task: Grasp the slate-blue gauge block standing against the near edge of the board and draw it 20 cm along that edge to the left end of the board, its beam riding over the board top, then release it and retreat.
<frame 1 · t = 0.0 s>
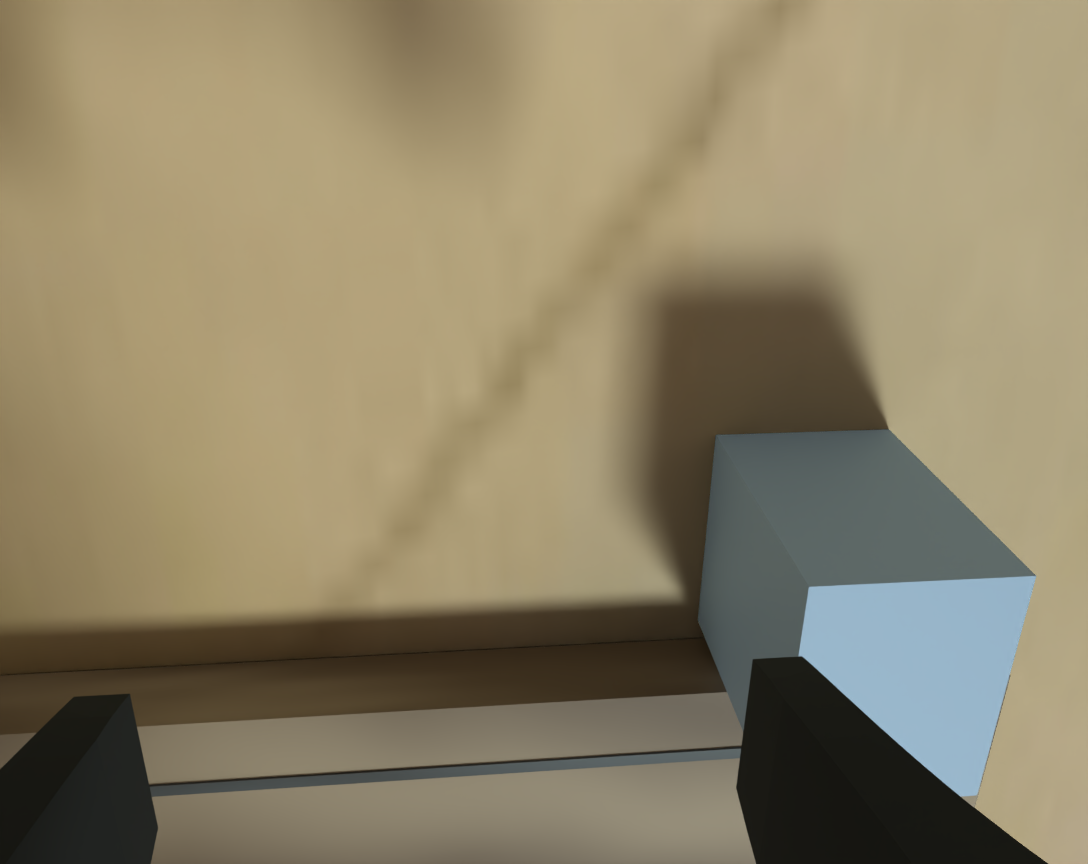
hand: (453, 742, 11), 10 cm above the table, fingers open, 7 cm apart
board: (381, 840, 26), on the table
gauge: (789, 527, 23), on the table
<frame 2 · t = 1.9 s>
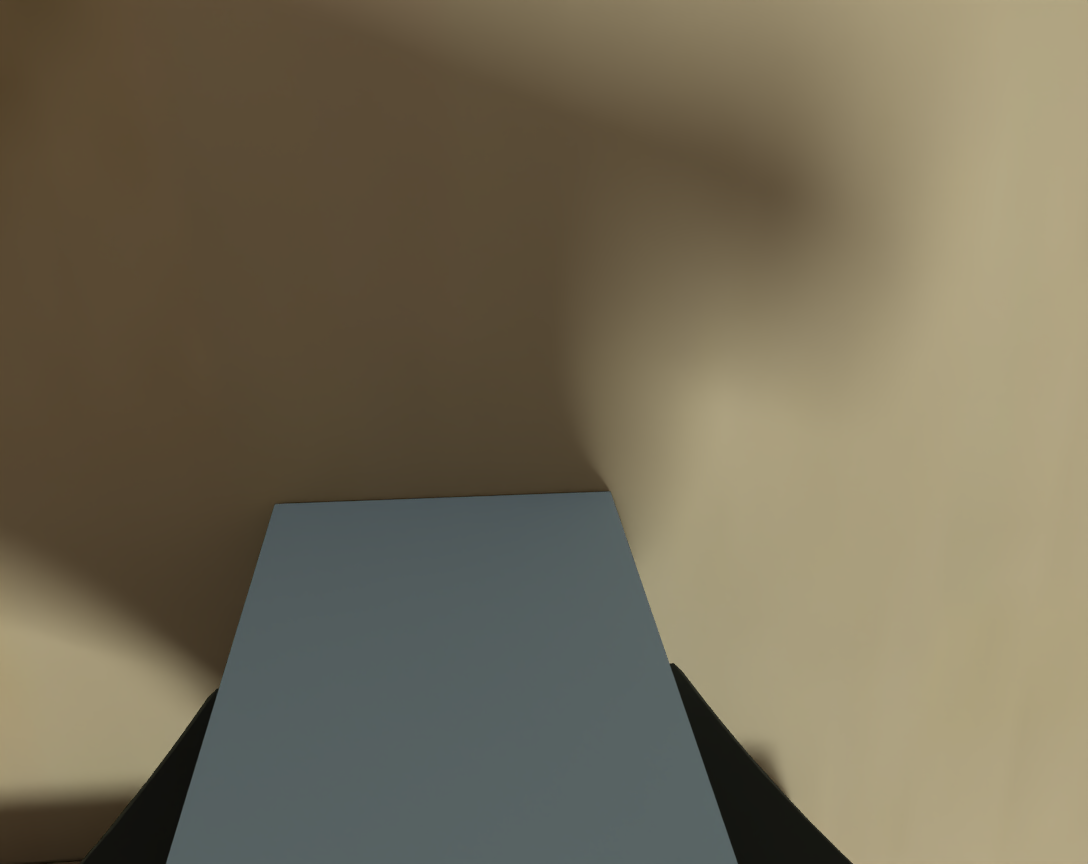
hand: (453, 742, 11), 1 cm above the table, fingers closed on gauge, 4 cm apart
gauge: (451, 665, 13), on the table, touching gripper
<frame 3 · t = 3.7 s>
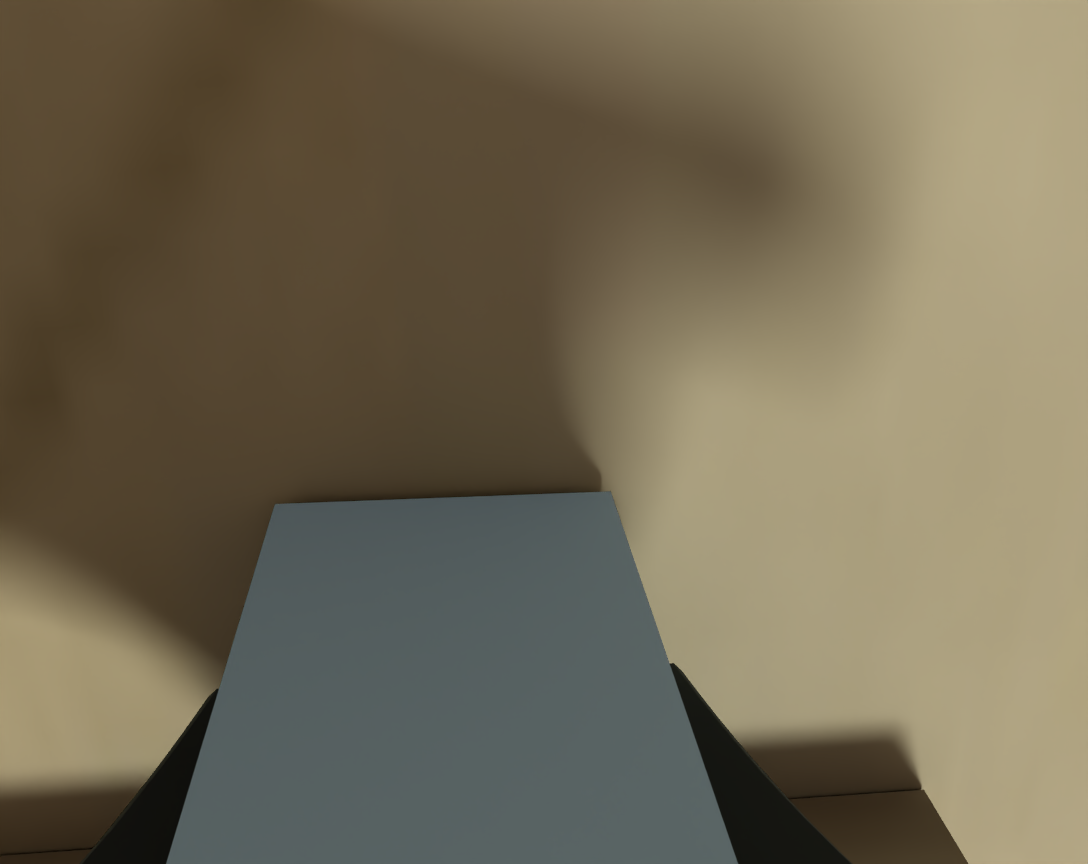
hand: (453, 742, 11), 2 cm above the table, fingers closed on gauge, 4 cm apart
gauge: (451, 665, 13), on the table, touching gripper
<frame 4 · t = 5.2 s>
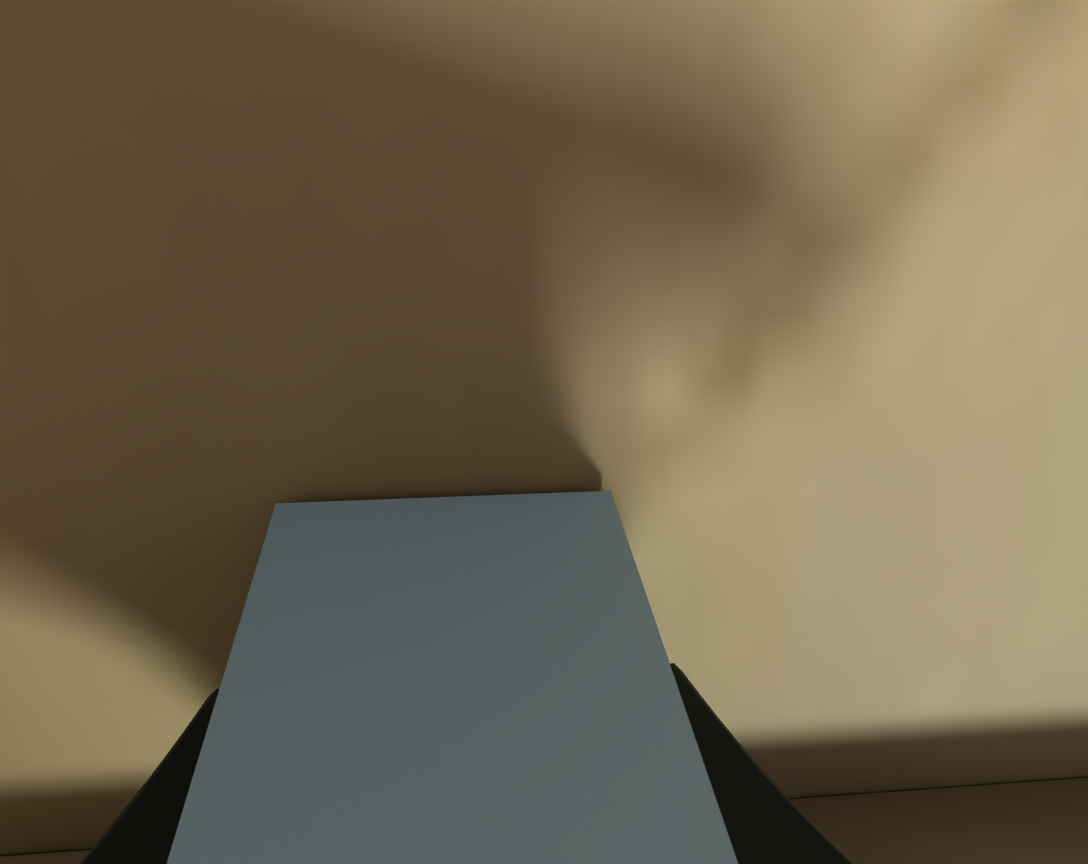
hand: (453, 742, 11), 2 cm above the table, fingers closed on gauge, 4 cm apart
gauge: (451, 664, 13), on the table, touching gripper
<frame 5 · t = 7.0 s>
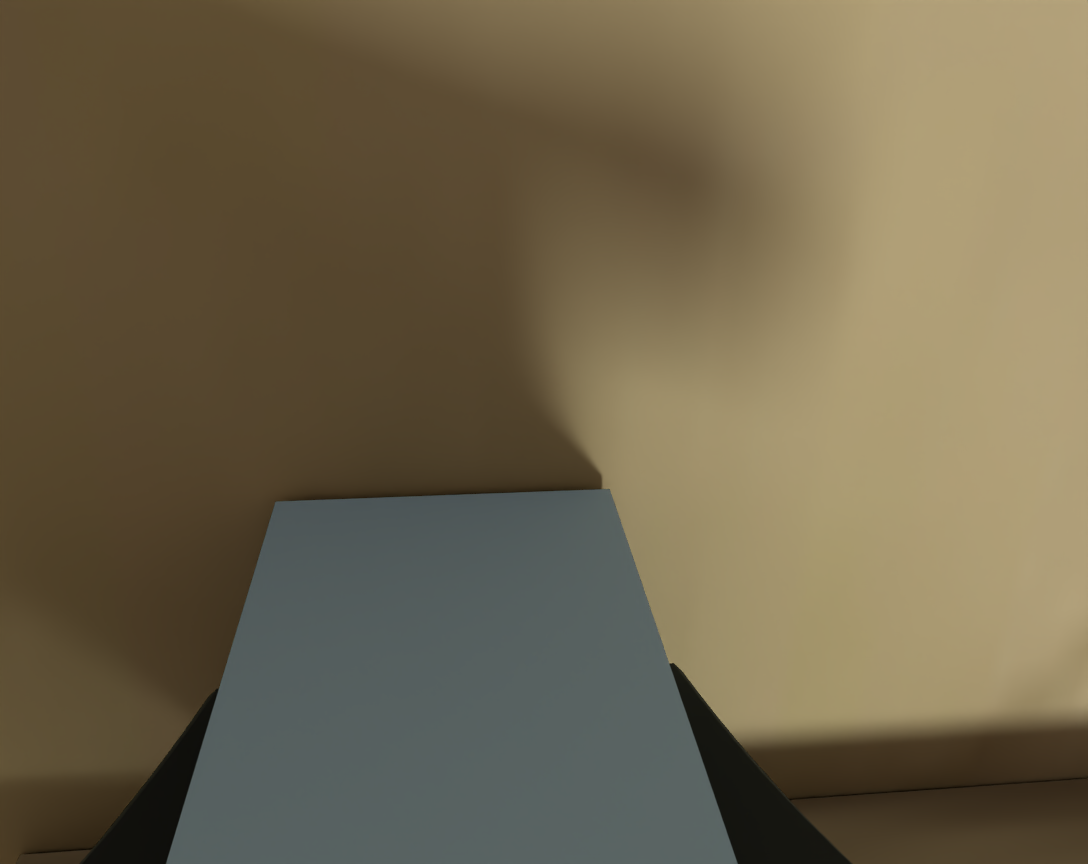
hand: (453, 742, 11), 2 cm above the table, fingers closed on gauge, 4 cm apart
gauge: (451, 662, 13), on the table, touching gripper
when the fingers open (2 cm above the table, at t = 8.7 s): gauge stays where it is, on the table.
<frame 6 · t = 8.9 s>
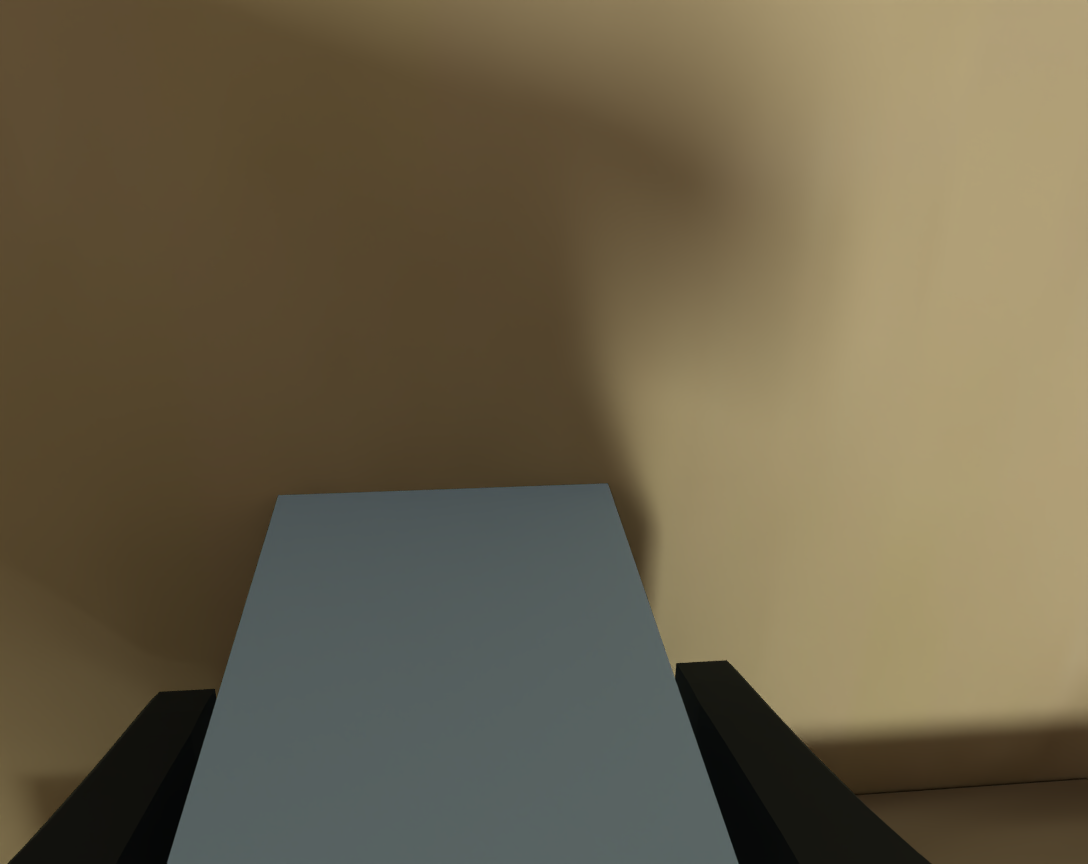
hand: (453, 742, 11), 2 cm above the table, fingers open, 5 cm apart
gauge: (451, 653, 13), on the table
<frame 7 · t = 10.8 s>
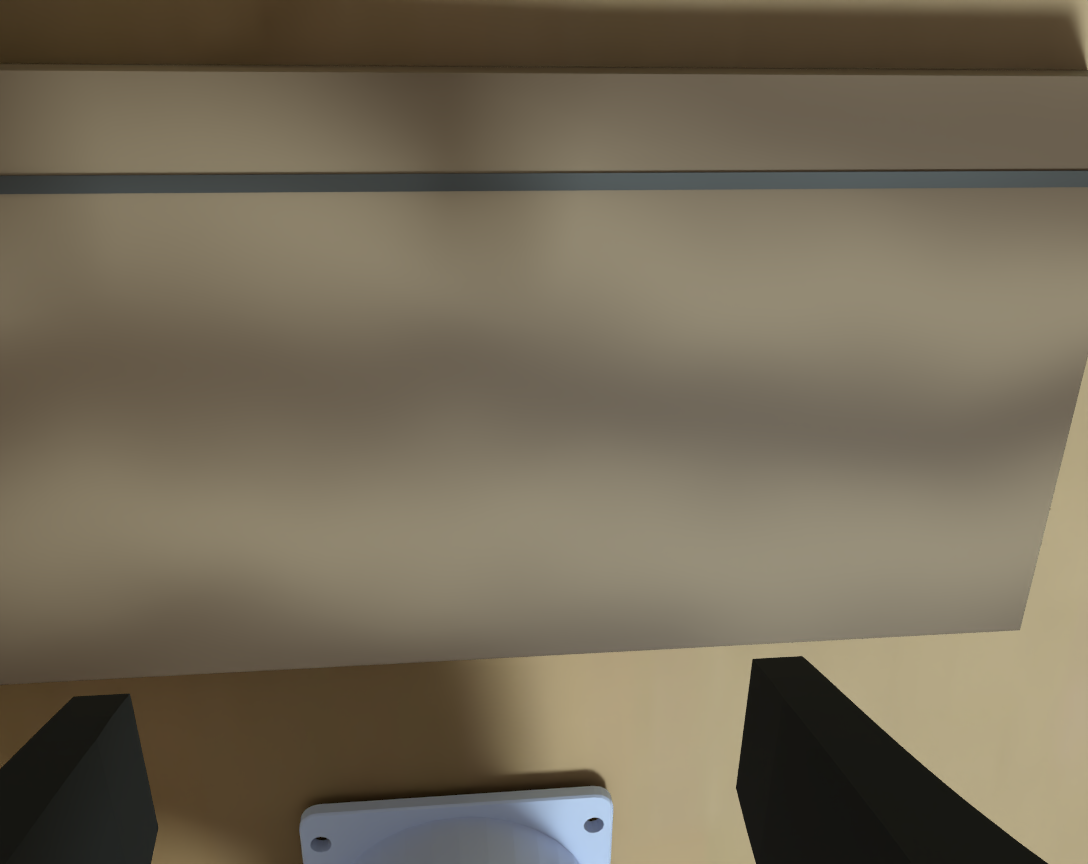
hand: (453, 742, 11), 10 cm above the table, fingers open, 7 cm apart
board: (348, 371, 20), on the table
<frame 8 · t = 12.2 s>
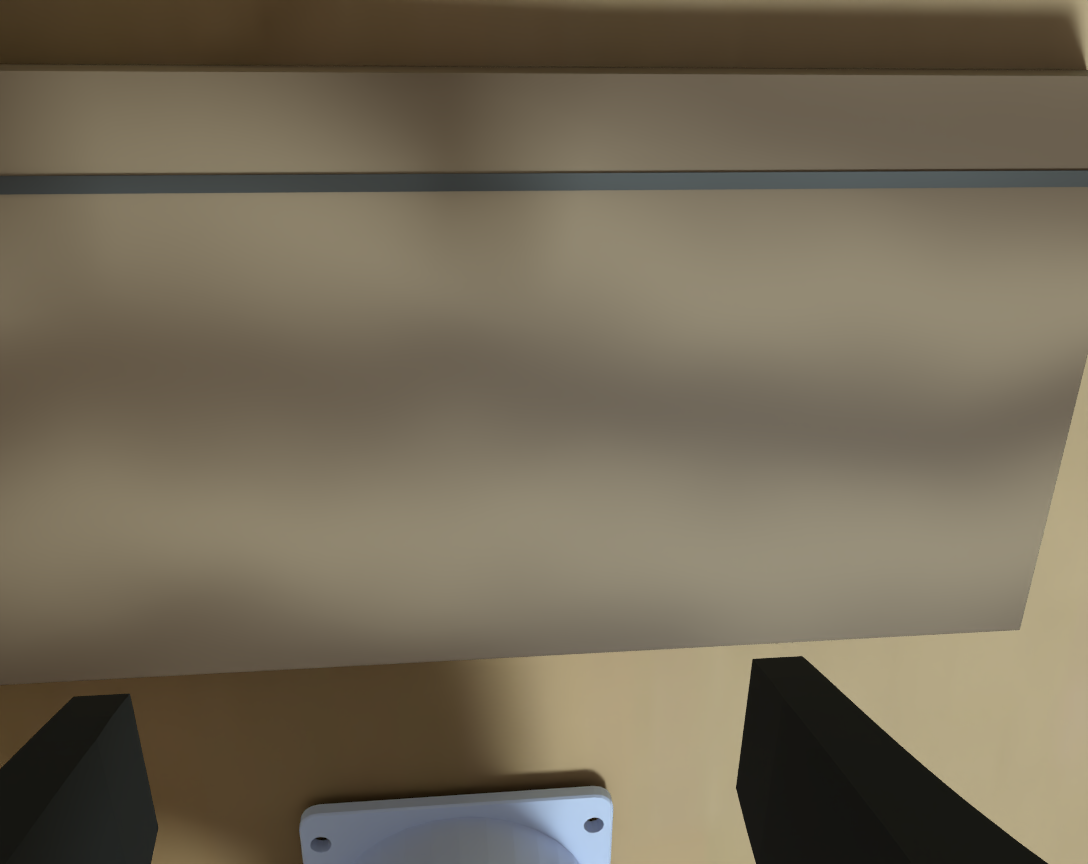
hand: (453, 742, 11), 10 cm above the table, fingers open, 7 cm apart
board: (348, 371, 20), on the table
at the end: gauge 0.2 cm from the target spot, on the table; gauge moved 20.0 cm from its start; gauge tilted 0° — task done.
